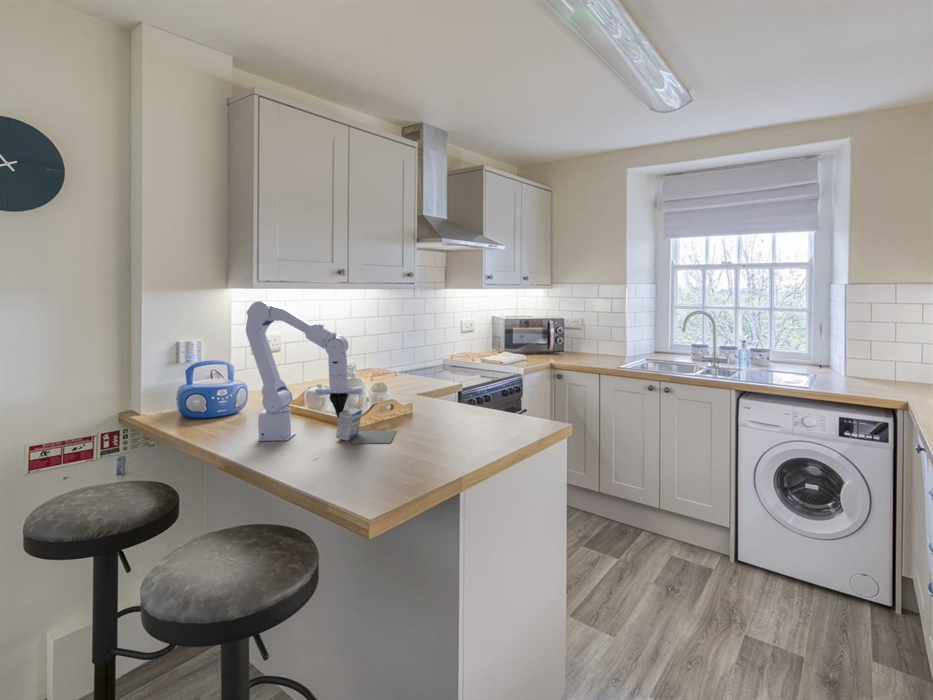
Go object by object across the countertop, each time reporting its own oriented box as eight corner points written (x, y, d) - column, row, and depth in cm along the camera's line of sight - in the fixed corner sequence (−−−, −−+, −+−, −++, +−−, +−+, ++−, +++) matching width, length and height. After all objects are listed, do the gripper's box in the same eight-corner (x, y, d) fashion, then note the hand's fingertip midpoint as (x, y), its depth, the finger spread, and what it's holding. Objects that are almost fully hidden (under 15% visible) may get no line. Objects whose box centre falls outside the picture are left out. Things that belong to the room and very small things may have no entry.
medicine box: (348, 441, 161) (352, 415, 160) (335, 438, 162) (339, 411, 160) (358, 434, 169) (362, 409, 167) (345, 431, 169) (349, 406, 168)
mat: (351, 444, 158) (351, 443, 158) (360, 431, 172) (360, 431, 172) (390, 443, 158) (390, 442, 158) (396, 431, 172) (396, 430, 172)
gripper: (311, 377, 159) (313, 420, 160) (358, 376, 159) (360, 419, 160) (318, 373, 166) (319, 414, 167) (362, 372, 166) (364, 414, 167)
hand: (339, 416), depth 164 cm, fingers closed
